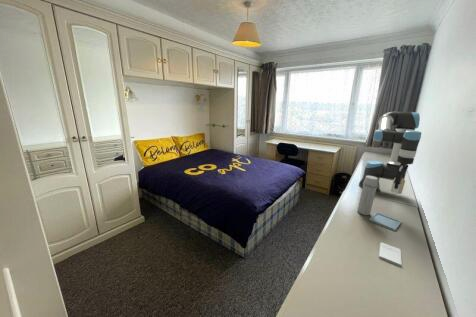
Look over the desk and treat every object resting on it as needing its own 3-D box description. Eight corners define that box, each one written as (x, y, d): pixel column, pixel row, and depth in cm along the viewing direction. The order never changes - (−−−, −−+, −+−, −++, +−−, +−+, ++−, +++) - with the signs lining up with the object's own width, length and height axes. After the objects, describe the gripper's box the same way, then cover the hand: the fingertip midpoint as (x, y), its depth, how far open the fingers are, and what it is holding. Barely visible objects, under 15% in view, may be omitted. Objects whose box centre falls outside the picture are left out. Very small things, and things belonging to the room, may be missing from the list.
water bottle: (356, 208, 132) (364, 174, 125) (370, 212, 128) (379, 176, 121) (356, 214, 124) (364, 178, 117) (371, 218, 120) (380, 181, 113)
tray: (376, 213, 126) (376, 211, 126) (400, 223, 117) (401, 221, 116) (368, 220, 118) (369, 218, 118) (394, 231, 109) (395, 229, 108)
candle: (388, 190, 124) (392, 176, 121) (394, 189, 126) (398, 175, 123) (398, 194, 119) (402, 179, 116) (403, 193, 121) (408, 178, 118)
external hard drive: (378, 258, 89) (380, 244, 99) (401, 268, 85) (400, 252, 94) (379, 255, 89) (380, 241, 98) (402, 265, 84) (401, 249, 94)
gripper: (402, 153, 124) (393, 186, 131) (394, 157, 113) (384, 193, 120) (417, 155, 119) (407, 190, 125) (410, 160, 108) (399, 197, 114)
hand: (396, 191), depth 122 cm, fingers closed on candle, 5 cm apart
